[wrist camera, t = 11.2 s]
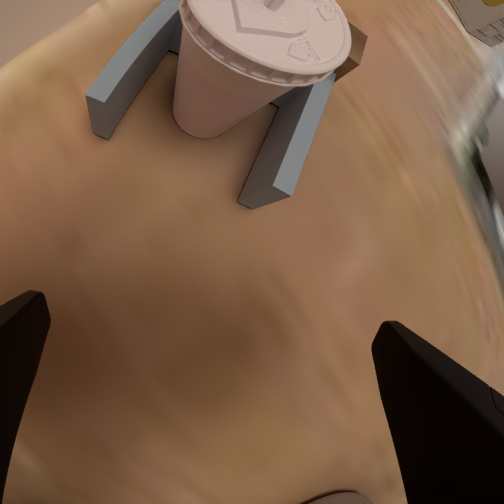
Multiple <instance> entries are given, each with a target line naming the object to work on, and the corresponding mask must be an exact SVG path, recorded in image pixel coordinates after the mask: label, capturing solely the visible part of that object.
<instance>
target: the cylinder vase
mask: <svg viewBox="0 0 504 504" xmlns="http://www.w3.org/2000/svg"><path fill="white" fill-rule="evenodd" d="M308 504H374V503H373V502H371V501H370V500H369V499H367V498H366V497H365V496H363V495H361V494H358V493H354V492H343V493H336V494H332V495H328V496H325V497H322V498H320V499H317V500H315V501H312V502H310V503H308Z"/></svg>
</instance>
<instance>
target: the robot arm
mask: <svg viewBox="0 0 504 504" xmlns="http://www.w3.org/2000/svg"><path fill="white" fill-rule="evenodd" d="M50 323H51V318H50V314H49V310H48V306H47V302H46V299H45V295H44V294H43V293H42V292H39V291H34V290H29V291H27V292H25V293H23V294H21V295H19V296H17V297H16V298H14V299H12V300H10V301H8V302H6V303H5V304H3V305H1V306H0V504H2V500H3V493H4V488H5V482H6V477H7V473H8V468H9V463H10V459H11V455H12V451H13V447H14V443H15V439H16V435H17V432H18V428H19V425H20V421H21V418H22V415H23V411H24V408H25V405H26V402H27V399H28V396H29V393H30V390H31V387H32V384H33V382H34V379H35V376H36V373H37V369H38V366H39V362H40V359H41V355H42V351H43V348H44V344H45V341H46V337H47V334H48V331H49V327H50ZM371 349H372V356H373V360H374V365H375V370H376V376H377V381H378V386H379V391H380V396H381V400H382V404H383V407H384V411H385V414H386V418H387V421H388V425H389V428H390V432H391V436H392V440H393V443H394V447H395V451H396V455H397V459H398V463H399V467H400V471H401V476H402V480H403V484H404V489H405V493H406V498H407V503H408V504H504V396H503V395H501V394H500V393H499V392H497V391H496V390H494V389H493V388H492V387H489V385H488V384H486V383H485V382H483V381H482V380H481V379H479V378H478V377H476V376H475V375H474V374H472V373H471V372H469V371H468V370H467V369H465V368H464V367H462V366H461V365H460V364H458V363H457V362H455V361H454V360H453V359H451V358H450V357H448V356H447V355H446V354H444V353H443V352H441V351H440V350H438V349H437V348H436V347H434V346H433V345H431V344H430V343H428V342H427V341H426V340H424V339H423V338H421V337H420V336H418V335H417V334H415V333H414V332H413V331H411V330H410V329H408V328H407V327H405V326H404V325H402V324H401V323H400V322H398V321H384V322H383V323H382V324H381V326H380V328H379V330H378V332H377V334H376V336H375V338H374V340H373V343H372V348H371Z"/></svg>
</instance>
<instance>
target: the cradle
mask: <svg viewBox="0 0 504 504" xmlns="http://www.w3.org/2000/svg"><path fill="white" fill-rule="evenodd" d="M179 1H180V0H164V1H163V2H162V3H161V4H160V5H159V6H158V7H157V8H156V9H155V10H154V11H153V12H152V13H151V14H150V15H149V16H148V17H147V18H146V19H145V20H144V21H143V22H142V24H141V25H140V26H139V27H138V28H137V29H136V30H135V31H134V32H133V34H132V35H131V36H130V37H129V38H128V39H127V40H126V42H125V43H124V44H123V45H122V46H121V48H120V49H119V50H118V51H117V53H116V54H115V55H114V56H113V57H112V59H111V60H110V61H109V63H108V64H107V65H106V66H105V68H104V69H103V70H102V72H101V73H100V74H99V76H98V77H97V79H96V80H95V81H94V83H93V84H92V85H91V87H90V88H89V90H88V91H87V93H86V94H85V96H86V101H87V106H88V111H89V115H90V120H91V124H92V129H93V133H95V134H97V135H99V136H101V137H104V138H106V139H108V140H109V138H110V137H111V135H112V133H113V132H114V130H115V128H116V127H117V125H118V123H119V122H120V120H121V118H122V117H123V115H124V113H125V112H126V110H127V109H128V107H129V106H130V104H131V103H132V101H133V99H134V98H135V96H136V95H137V93H138V92H139V90H140V89H141V88H142V86H143V85H144V83H145V82H146V80H147V79H148V77H149V76H150V75H151V73H152V72H153V71H154V69H155V68H156V66H157V65H158V64H159V62H160V61H161V60H162V58H163V57H164V56H165V54H166V53H167V52H168V51H169V50H171V51H174V52H176V53H178V54H179V52H180V45H181V38H182V30H183V24H182V20H181V16H180V13H179V9H178V8H179ZM335 77H336V74H335V73H334V72H332V73H331V74H330V75H329V76H328V77H326V78H325V79H324V80H323V81H321V82H317V83H314V84H311V85H308V86H302V87H294V88H293V89H291V90H290V91H288V92H286V93H284V94H282V95H281V96H279V97H277V98H276V99H274V100H273V101H271V102H272V103H274V104H275V105H277V106H279V109H278V112H277V114H276V116H275V118H274V120H273V123H272V125H271V127H270V129H269V131H268V134H267V136H266V138H265V140H264V143H263V145H262V147H261V149H260V152H259V154H258V156H257V158H256V161H255V163H254V165H253V167H252V170H251V172H250V174H249V177H248V179H247V181H246V183H245V186H244V188H243V190H242V193H241V195H240V197H239V200H238V202H239V203H241V204H243V205H245V206H247V207H249V208H251V209H256V208H259V207H262V206H265V205H267V204H270V203H273V202H276V201H279V200H282V199H285V198H288V197H291V196H292V194H293V191H294V189H295V186H296V183H297V181H298V178H299V175H300V173H301V170H302V167H303V165H304V162H305V159H306V157H307V154H308V151H309V149H310V146H311V143H312V141H313V138H314V135H315V132H316V130H317V127H318V124H319V121H320V119H321V116H322V113H323V110H324V108H325V105H326V102H327V99H328V97H329V94H330V91H331V88H332V86H333V83H334V80H335Z"/></svg>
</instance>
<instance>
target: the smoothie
mask: <svg viewBox="0 0 504 504" xmlns="http://www.w3.org/2000/svg"><path fill="white" fill-rule="evenodd" d="M178 9H179V13H180V16H181V20H182V24H183V30H182V38H181V45H180V52H179V59H178V67H177V75H176V84H175V93H174V102H173V115H174V118H175V120H176V122H177V124H178V125H179V126H180V128H181V129H182V130H184V131H185V132H186V133H188V134H190V135H192V136H194V137H198V138H214V137H217V136H219V135H221V134H223V133H224V132H226V131H227V130H229V129H230V128H232V127H233V126H235V125H236V124H237V123H239V122H240V121H242V120H243V119H245V118H246V117H248V116H249V115H251V114H252V113H254V112H255V111H257V110H259V109H260V108H262V107H263V106H265V105H266V104H268V103H269V102H271V101H273V100H274V99H276V98H277V97H279V96H281V95H282V94H284V93H286V92H288V91H290V90H291V89H293V88H294V87H302V86H308V85H311V84H314V83H317V82H321V81H323V80H324V79H325V78H326V77H328V76H329V75H330V74H331V73H332V72H334V70H335V69H336V68H337V67H339V66H340V65H341V64H342V63H343V62H344V61H345V60H346V58H347V57H348V55H349V52H350V49H351V32H350V28H349V25H348V22H347V19H346V17H345V15H344V13H343V11H342V9H341V8H340V7H339V5H338V4H337V2H336V1H335V0H180V1H179V8H178Z"/></svg>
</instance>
